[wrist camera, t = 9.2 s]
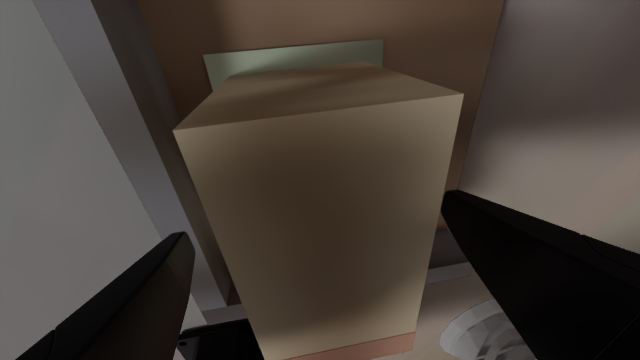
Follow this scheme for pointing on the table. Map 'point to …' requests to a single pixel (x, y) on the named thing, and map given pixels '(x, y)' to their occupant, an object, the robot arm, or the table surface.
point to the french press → (484, 335)
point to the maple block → (324, 201)
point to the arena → (245, 58)
